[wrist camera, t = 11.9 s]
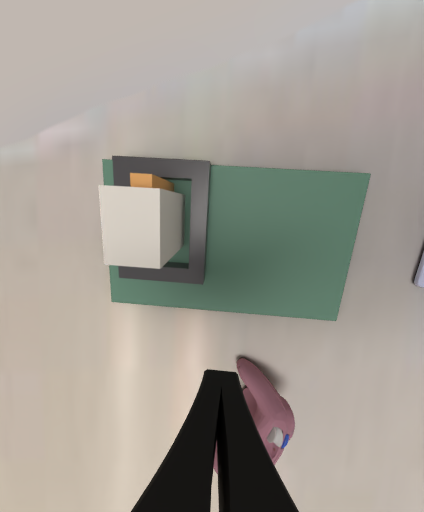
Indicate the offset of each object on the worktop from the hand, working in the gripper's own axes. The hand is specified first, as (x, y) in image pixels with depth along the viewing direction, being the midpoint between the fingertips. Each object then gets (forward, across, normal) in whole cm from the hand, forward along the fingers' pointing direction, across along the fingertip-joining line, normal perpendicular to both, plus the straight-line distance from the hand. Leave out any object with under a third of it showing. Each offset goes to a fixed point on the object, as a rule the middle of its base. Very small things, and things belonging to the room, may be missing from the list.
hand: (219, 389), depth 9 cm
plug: (+9, +5, -6) cm, 12 cm away
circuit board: (+10, 0, -4) cm, 11 cm away
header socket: (+10, +5, -6) cm, 13 cm away
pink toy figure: (+11, -2, +12) cm, 16 cm away
